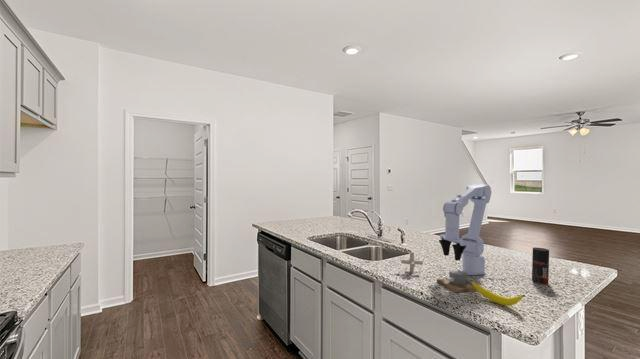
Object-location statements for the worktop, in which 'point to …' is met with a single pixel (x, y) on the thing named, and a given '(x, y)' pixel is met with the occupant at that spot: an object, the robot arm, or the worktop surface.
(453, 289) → the board
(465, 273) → the plug
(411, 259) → the pipe connector
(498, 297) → the banana
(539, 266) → the deodorant
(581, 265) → the worktop surface
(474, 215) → the robot arm
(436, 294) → the worktop surface
